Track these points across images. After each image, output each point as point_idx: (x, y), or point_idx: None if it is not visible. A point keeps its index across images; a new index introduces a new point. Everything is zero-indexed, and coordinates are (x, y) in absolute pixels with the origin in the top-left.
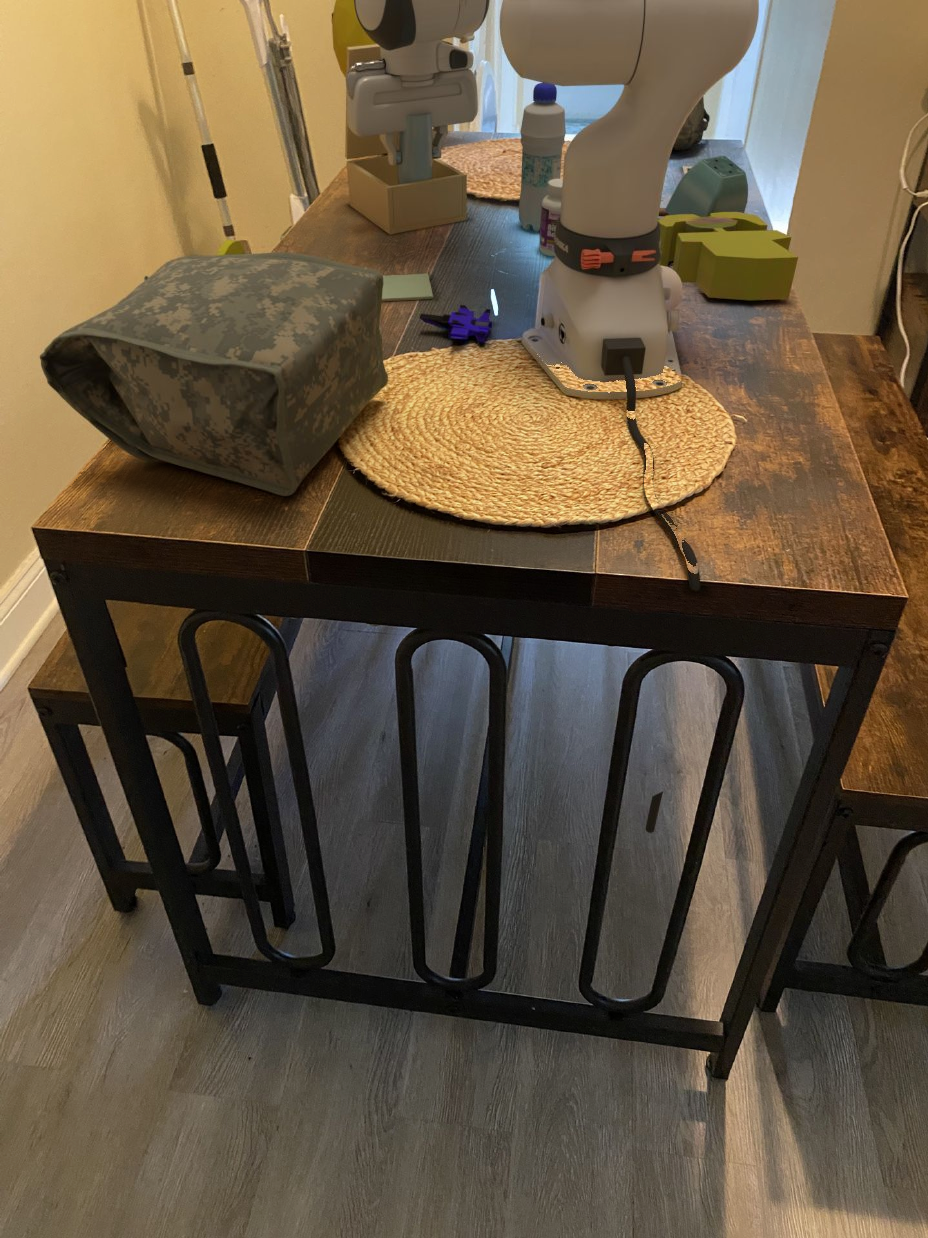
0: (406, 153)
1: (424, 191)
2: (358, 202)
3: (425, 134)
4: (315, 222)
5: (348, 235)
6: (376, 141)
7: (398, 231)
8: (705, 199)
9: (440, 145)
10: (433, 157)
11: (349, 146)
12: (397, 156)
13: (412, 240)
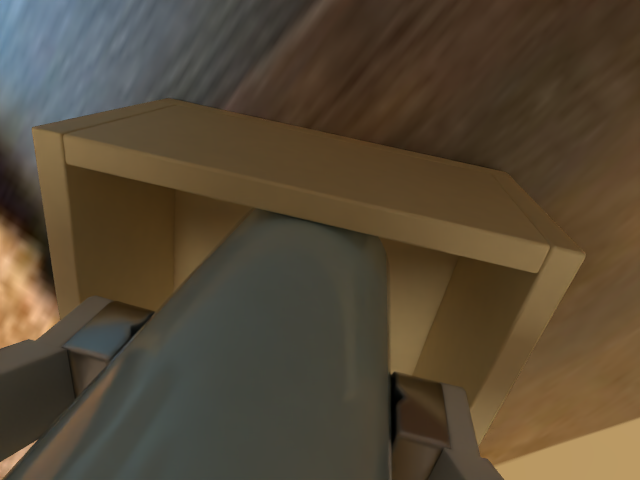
0: (383, 391)
1: (330, 176)
2: None
3: (143, 440)
4: (583, 415)
5: (620, 268)
6: None
7: (468, 165)
8: None
9: (40, 343)
10: (149, 310)
11: None
12: (433, 417)
13: (493, 49)
